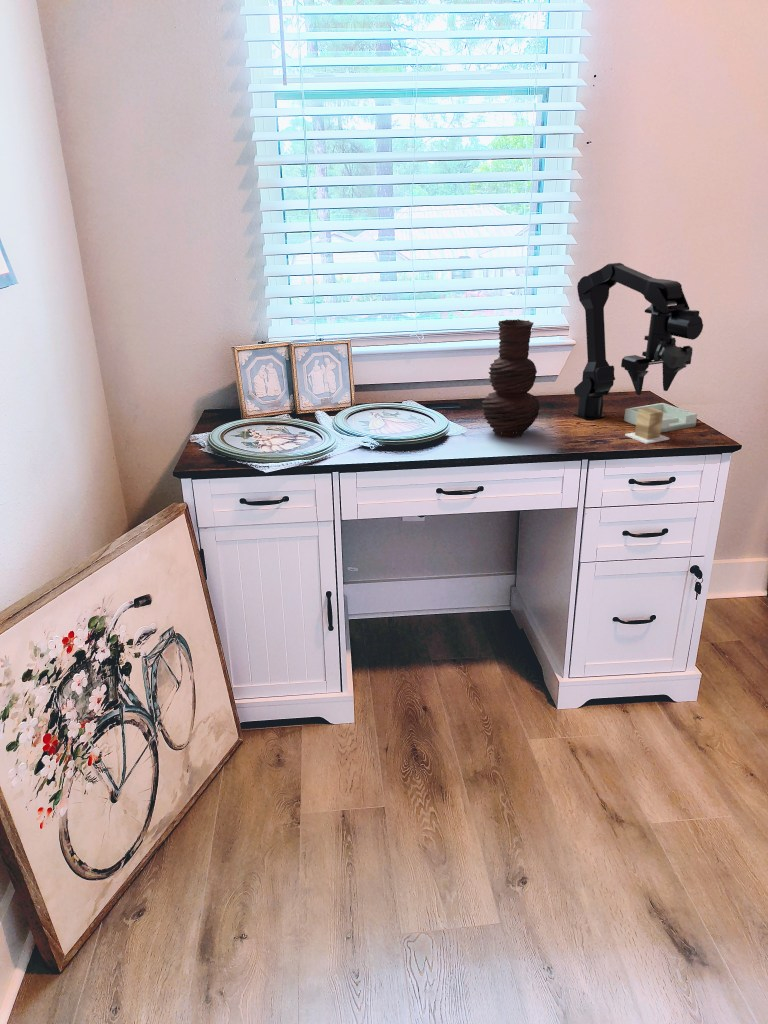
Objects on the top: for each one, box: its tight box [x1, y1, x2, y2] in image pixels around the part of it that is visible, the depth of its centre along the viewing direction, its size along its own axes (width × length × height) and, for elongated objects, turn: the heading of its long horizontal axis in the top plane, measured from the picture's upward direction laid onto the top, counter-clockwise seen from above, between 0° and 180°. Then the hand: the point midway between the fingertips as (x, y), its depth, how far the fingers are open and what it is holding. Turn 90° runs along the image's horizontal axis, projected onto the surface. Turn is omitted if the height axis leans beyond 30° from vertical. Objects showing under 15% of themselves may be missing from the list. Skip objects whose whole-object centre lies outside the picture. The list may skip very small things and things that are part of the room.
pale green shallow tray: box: [623, 402, 698, 434], centre depth 213 cm, size 14×13×4 cm
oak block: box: [634, 408, 663, 440], centre depth 201 cm, size 4×4×7 cm
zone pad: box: [624, 431, 670, 445], centre depth 202 cm, size 8×8×1 cm
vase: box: [481, 319, 541, 439], centre depth 201 cm, size 15×15×30 cm
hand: (652, 392), depth 199 cm, fingers open, 9 cm apart
